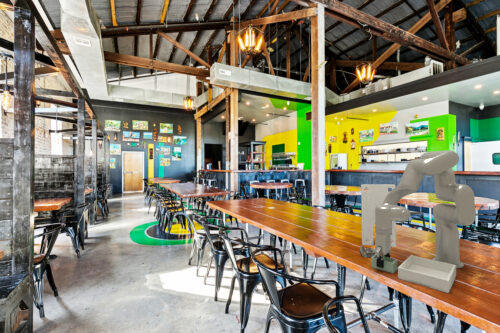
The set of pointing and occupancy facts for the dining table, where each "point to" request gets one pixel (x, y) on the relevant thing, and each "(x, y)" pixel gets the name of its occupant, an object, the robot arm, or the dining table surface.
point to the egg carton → (367, 251)
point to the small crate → (385, 264)
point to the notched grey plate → (373, 210)
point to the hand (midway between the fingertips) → (383, 264)
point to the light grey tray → (428, 273)
